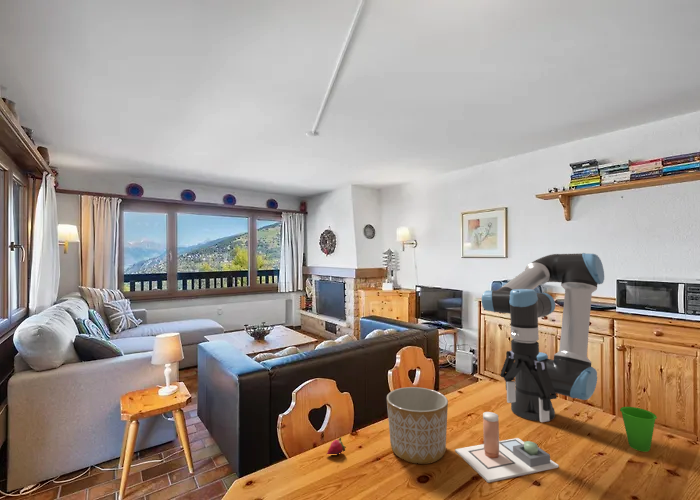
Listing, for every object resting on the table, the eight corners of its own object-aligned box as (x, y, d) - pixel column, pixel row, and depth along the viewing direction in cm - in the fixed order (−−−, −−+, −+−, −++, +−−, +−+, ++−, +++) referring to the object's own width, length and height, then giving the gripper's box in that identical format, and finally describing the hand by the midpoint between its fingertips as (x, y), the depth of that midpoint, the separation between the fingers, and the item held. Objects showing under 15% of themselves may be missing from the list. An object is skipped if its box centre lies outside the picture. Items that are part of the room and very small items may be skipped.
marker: (481, 451, 106) (479, 412, 107) (493, 449, 107) (492, 411, 108) (490, 459, 102) (489, 419, 102) (502, 457, 103) (501, 417, 104)
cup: (665, 456, 103) (664, 420, 104) (631, 454, 105) (630, 417, 105) (646, 441, 112) (645, 407, 112) (615, 438, 114) (613, 405, 114)
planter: (453, 441, 114) (452, 391, 114) (443, 475, 96) (442, 416, 97) (397, 430, 122) (396, 383, 122) (379, 459, 104) (378, 404, 105)
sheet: (455, 451, 108) (455, 448, 108) (518, 439, 114) (518, 437, 114) (487, 482, 93) (487, 480, 93) (558, 467, 99) (558, 464, 99)
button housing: (513, 454, 105) (512, 446, 105) (531, 450, 107) (531, 442, 107) (530, 467, 98) (530, 458, 98) (550, 463, 100) (550, 454, 100)
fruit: (324, 453, 108) (324, 437, 108) (342, 449, 110) (342, 434, 110) (328, 460, 104) (327, 444, 104) (346, 456, 106) (346, 440, 106)
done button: (521, 450, 104) (521, 442, 104) (531, 448, 105) (531, 440, 105) (530, 456, 100) (530, 448, 100) (540, 454, 101) (540, 446, 101)
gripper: (488, 332, 115) (489, 396, 114) (547, 351, 91) (549, 432, 90) (507, 331, 117) (509, 394, 116) (570, 349, 93) (572, 428, 92)
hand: (526, 411), depth 103 cm, fingers open, 13 cm apart
